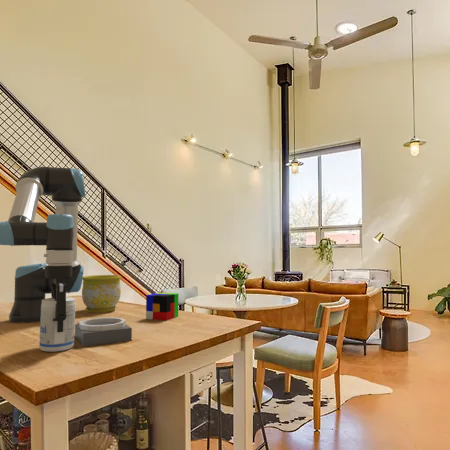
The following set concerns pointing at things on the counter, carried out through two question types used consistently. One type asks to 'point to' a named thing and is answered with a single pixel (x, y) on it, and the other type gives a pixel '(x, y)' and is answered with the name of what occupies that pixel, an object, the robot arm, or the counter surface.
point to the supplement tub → (48, 325)
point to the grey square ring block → (102, 331)
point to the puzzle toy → (162, 306)
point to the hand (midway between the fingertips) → (57, 339)
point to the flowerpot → (101, 292)
